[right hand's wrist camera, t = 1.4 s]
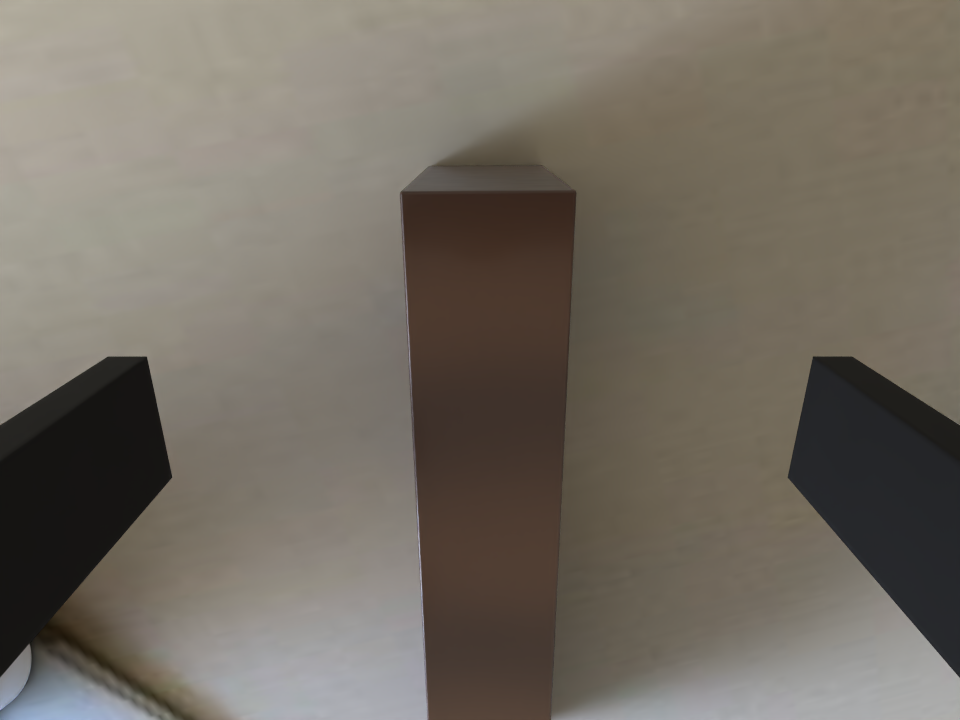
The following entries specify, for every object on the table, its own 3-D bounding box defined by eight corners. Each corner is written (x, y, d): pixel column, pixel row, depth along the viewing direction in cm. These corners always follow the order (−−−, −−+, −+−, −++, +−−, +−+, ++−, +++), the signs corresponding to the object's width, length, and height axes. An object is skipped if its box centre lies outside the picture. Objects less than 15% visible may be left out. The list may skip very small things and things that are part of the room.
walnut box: (427, 166, 27) (399, 191, 17) (543, 165, 27) (576, 190, 17) (447, 727, 39) (437, 918, 30) (526, 727, 39) (541, 917, 30)
